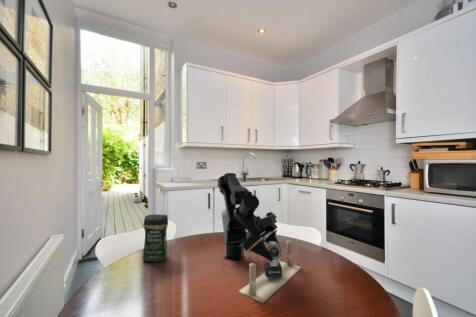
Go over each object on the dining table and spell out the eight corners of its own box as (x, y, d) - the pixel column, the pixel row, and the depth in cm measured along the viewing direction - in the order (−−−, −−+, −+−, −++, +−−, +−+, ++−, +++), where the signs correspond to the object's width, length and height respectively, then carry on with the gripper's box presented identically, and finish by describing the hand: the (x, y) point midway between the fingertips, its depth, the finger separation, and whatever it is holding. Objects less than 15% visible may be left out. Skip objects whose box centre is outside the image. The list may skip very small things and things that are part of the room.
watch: (266, 279, 77) (266, 246, 77) (263, 268, 85) (263, 238, 85) (283, 279, 77) (283, 246, 77) (278, 268, 85) (278, 238, 86)
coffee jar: (140, 263, 94) (140, 216, 94) (147, 255, 101) (147, 212, 102) (164, 262, 94) (165, 216, 94) (169, 255, 102) (169, 212, 102)
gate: (238, 293, 72) (238, 261, 73) (280, 263, 95) (279, 238, 95) (263, 304, 67) (263, 269, 67) (301, 269, 89) (301, 243, 90)
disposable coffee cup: (222, 233, 133) (222, 207, 133) (240, 234, 133) (240, 207, 133) (220, 239, 122) (220, 211, 123) (240, 240, 122) (240, 211, 122)
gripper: (250, 210, 75) (283, 251, 70) (272, 202, 91) (300, 234, 86) (230, 231, 79) (259, 271, 74) (254, 219, 95) (280, 252, 90)
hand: (276, 256), depth 81 cm, fingers closed on watch, 8 cm apart
